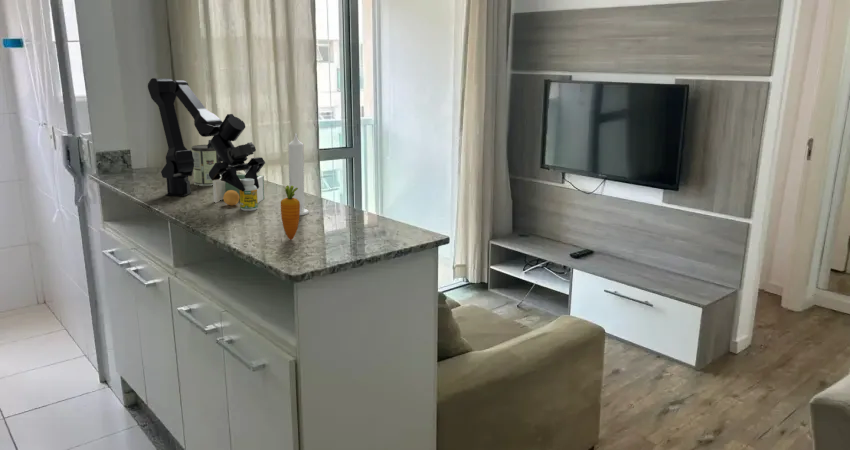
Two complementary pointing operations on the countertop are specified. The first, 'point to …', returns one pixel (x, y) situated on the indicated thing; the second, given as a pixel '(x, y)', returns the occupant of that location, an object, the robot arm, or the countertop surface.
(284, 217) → the carrot
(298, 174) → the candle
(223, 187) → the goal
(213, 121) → the robot arm
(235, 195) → the ball
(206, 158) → the coffee can
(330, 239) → the countertop surface
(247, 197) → the supplement bottle
